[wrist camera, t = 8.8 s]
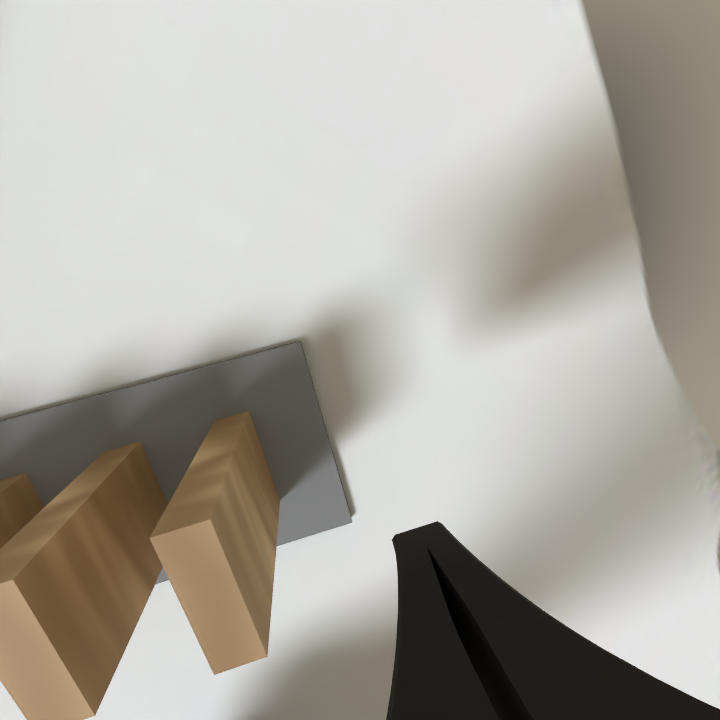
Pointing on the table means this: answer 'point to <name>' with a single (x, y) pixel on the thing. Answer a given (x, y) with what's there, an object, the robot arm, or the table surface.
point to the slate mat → (193, 434)
